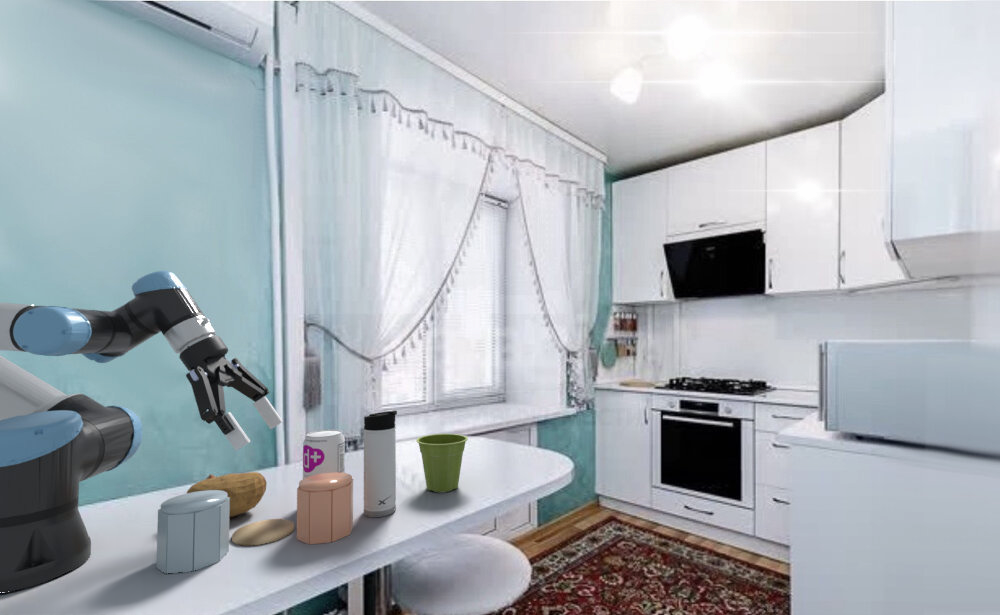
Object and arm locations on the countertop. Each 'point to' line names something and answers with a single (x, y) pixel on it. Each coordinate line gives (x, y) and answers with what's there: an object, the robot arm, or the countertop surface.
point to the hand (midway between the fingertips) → (261, 435)
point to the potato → (236, 490)
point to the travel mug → (380, 464)
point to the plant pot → (442, 460)
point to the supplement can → (323, 452)
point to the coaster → (262, 532)
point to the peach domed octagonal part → (324, 507)
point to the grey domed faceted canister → (192, 531)
